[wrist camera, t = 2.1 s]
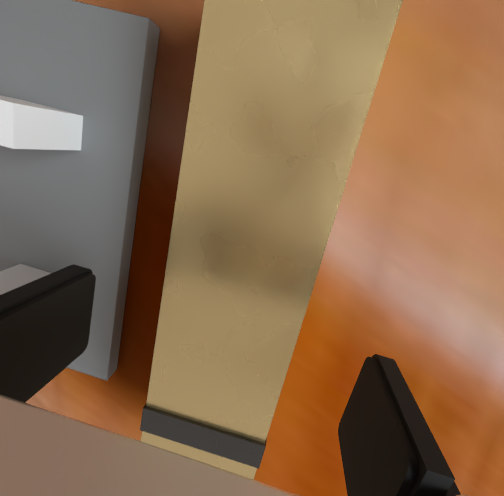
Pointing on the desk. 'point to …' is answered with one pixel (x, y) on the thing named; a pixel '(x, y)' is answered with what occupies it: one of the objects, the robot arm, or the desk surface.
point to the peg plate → (73, 151)
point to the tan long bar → (255, 212)
